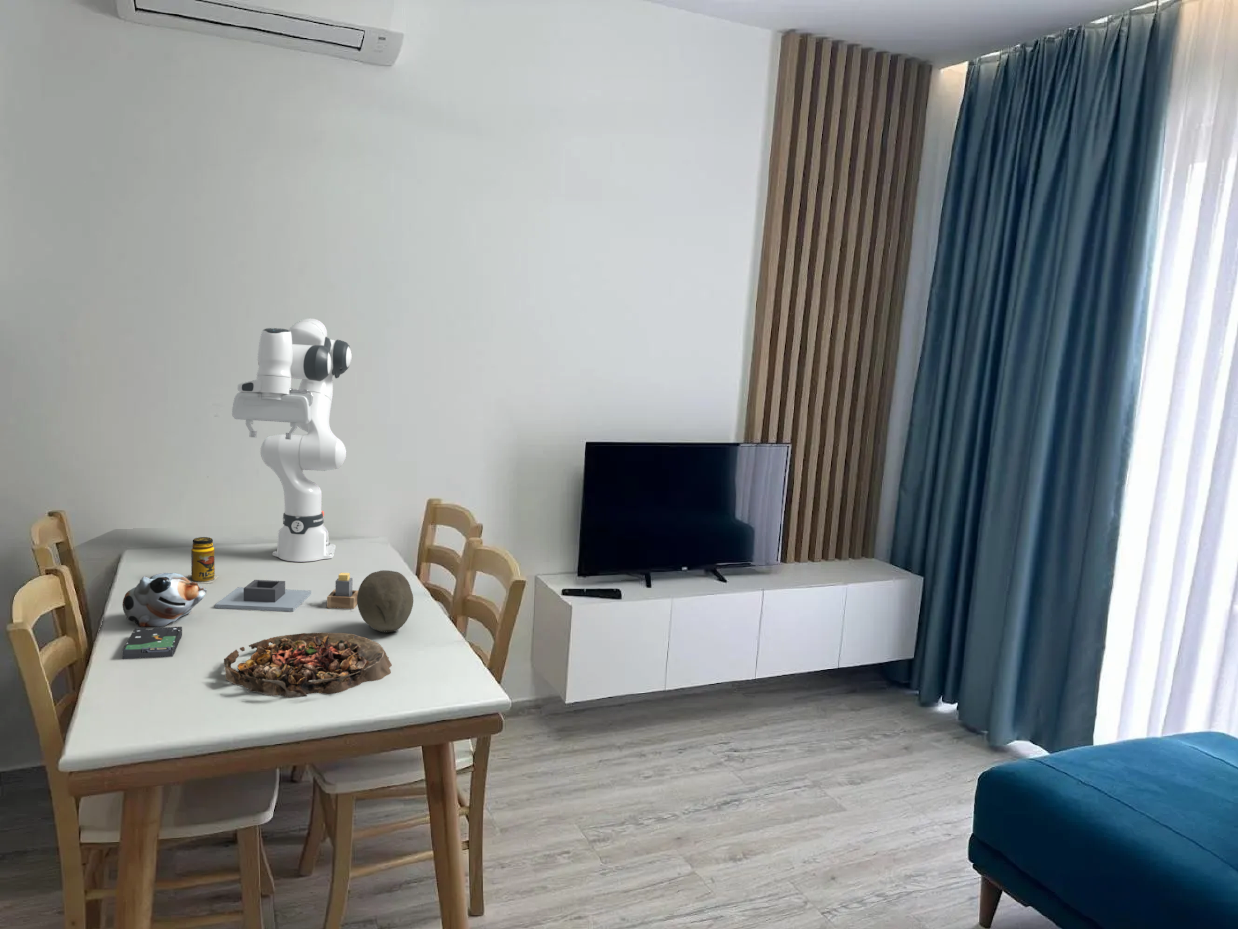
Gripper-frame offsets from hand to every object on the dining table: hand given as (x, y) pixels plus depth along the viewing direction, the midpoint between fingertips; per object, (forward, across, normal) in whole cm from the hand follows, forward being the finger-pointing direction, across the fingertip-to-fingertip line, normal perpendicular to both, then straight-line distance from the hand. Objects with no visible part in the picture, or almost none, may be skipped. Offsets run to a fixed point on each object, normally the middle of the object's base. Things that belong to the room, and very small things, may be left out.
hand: (270, 438), depth 253 cm
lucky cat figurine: (+46, +18, +21) cm, 54 cm away
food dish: (+50, -25, +52) cm, 76 cm away
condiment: (+42, +21, -15) cm, 49 cm away
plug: (+44, -23, +5) cm, 49 cm away
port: (+44, -2, +4) cm, 44 cm away
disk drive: (+49, +13, +40) cm, 65 cm away
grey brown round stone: (+46, -36, +25) cm, 64 cm away
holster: (+43, -23, +5) cm, 49 cm away
